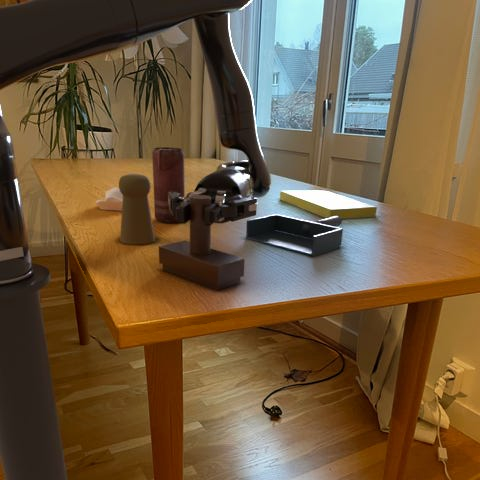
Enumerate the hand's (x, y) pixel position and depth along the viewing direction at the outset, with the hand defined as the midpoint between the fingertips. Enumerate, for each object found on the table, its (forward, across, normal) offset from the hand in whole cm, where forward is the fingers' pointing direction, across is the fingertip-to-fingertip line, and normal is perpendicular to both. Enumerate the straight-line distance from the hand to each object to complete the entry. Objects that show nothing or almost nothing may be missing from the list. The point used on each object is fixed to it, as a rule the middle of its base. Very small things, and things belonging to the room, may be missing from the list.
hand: (194, 216), depth 60 cm
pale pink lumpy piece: (-43, -30, +9) cm, 53 cm away
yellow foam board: (-60, +16, +9) cm, 63 cm away
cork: (-18, -16, +9) cm, 26 cm away
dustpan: (-30, +14, +9) cm, 34 cm away
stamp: (-3, 0, +9) cm, 9 cm away
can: (-34, -15, +9) cm, 39 cm away
